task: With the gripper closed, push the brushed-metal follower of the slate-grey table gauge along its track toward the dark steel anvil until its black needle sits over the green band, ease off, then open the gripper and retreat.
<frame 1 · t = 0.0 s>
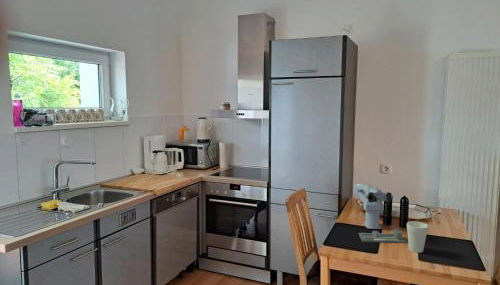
hand: (383, 200, 182), 22 cm above the table, tool horizontal, fingers open, 7 cm apart
gauge follower: (376, 235, 185), point 2 cm above the table, slide at 0.0 cm
gauge base: (381, 238, 186), on the table
foam cup: (416, 250, 172), on the table
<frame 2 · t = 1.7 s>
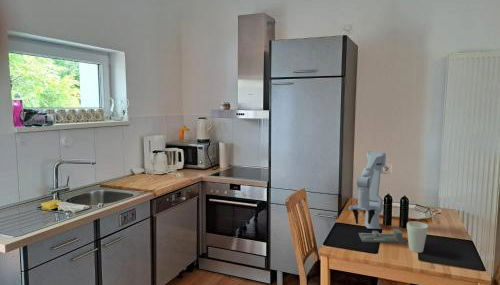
hand: (362, 223, 186), 8 cm above the table, tool pointing down, fingers open, 6 cm apart
nothing on the table moved.
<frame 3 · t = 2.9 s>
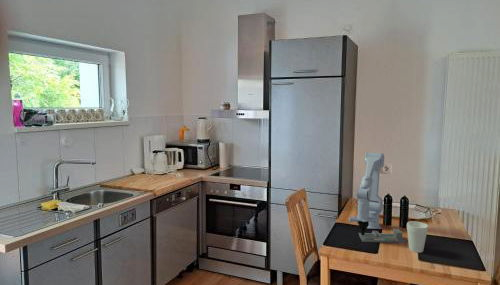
hand: (362, 234, 186), 2 cm above the table, tool pointing down, fingers closed
nothing on the table moved.
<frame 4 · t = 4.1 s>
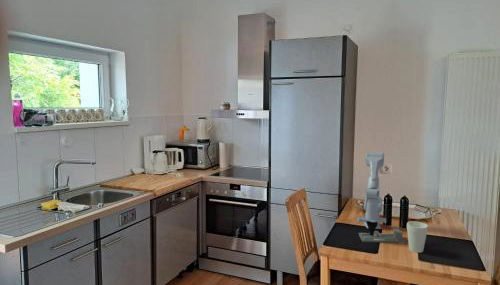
hand: (371, 234, 186), 2 cm above the table, tool pointing down, fingers closed
gauge follower: (376, 235, 185), point 2 cm above the table, slide at 0.1 cm, touching gripper
everything else where it was.
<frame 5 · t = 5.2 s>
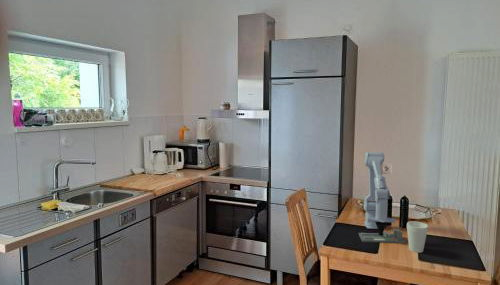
hand: (380, 235, 186), 2 cm above the table, tool pointing down, fingers closed
gauge follower: (386, 235, 184), point 2 cm above the table, slide at 5.0 cm, touching gripper
everything else where it was.
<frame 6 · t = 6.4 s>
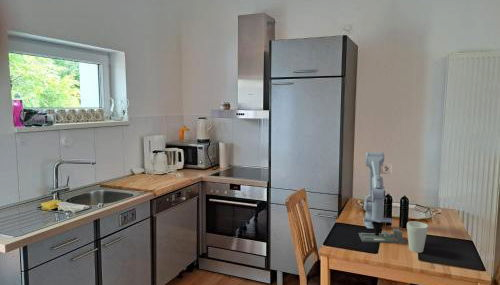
hand: (376, 235, 186), 2 cm above the table, tool pointing down, fingers closed
gauge follower: (386, 235, 184), point 2 cm above the table, slide at 5.0 cm
everything else where it was.
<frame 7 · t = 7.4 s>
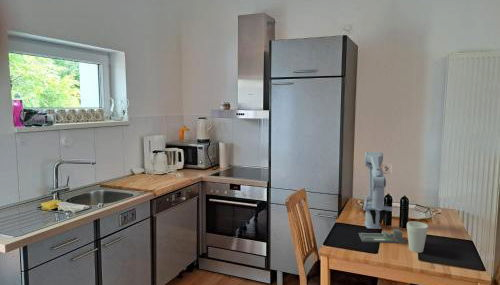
hand: (377, 223, 185), 8 cm above the table, tool pointing down, fingers open, 3 cm apart
nothing on the table moved.
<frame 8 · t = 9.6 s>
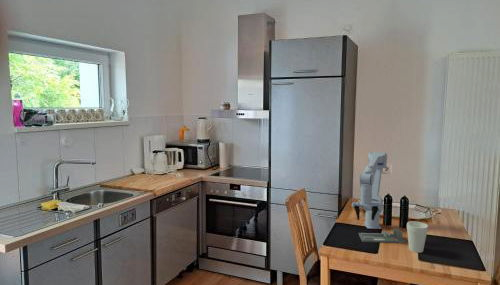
hand: (365, 219, 188), 9 cm above the table, tool pointing down, fingers open, 7 cm apart
nothing on the table moved.
at the end: gauge follower slide at 5.0 cm; foam cup moved 0.2 cm from its start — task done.
